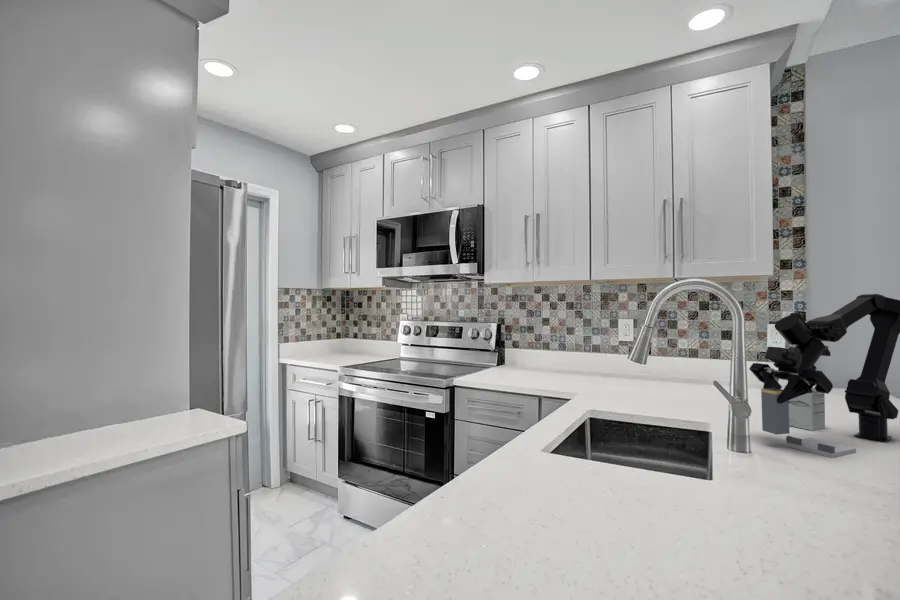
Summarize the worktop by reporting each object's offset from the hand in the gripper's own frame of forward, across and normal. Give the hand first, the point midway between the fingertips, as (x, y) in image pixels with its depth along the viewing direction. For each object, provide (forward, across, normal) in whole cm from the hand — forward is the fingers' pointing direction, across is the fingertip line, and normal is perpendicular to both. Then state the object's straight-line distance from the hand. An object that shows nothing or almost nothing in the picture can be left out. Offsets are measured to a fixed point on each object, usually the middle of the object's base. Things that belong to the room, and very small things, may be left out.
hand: (770, 400), depth 114 cm
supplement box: (-11, -14, +28) cm, 33 cm away
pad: (+2, +5, +15) cm, 16 cm away
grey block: (+5, 0, +7) cm, 8 cm away
